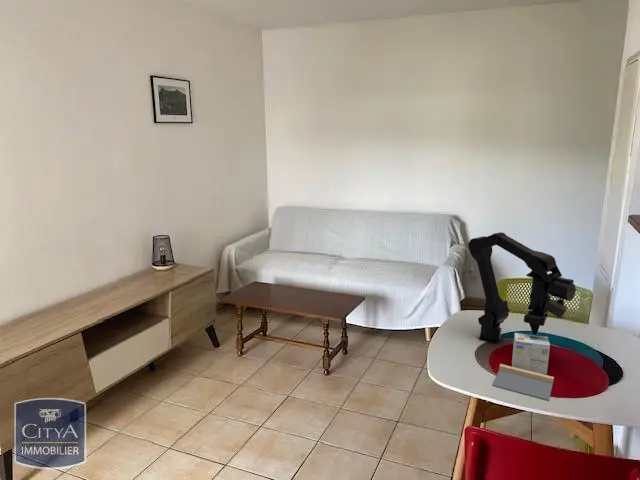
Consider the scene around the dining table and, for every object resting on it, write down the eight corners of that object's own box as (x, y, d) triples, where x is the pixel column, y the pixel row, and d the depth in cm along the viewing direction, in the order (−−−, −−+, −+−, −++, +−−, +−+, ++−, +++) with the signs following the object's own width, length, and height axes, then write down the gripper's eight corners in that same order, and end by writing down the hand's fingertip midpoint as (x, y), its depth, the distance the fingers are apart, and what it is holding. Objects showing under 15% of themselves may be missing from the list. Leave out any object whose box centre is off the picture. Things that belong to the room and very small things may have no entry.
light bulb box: (545, 365, 159) (548, 336, 156) (547, 375, 153) (551, 344, 150) (510, 360, 162) (514, 331, 160) (511, 370, 156) (515, 340, 153)
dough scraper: (492, 385, 146) (492, 380, 146) (499, 369, 156) (500, 363, 156) (548, 400, 138) (549, 395, 138) (553, 382, 148) (553, 376, 148)
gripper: (564, 305, 147) (558, 350, 151) (569, 288, 163) (563, 329, 167) (526, 298, 153) (520, 342, 157) (534, 282, 168) (529, 322, 172)
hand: (534, 334), depth 163 cm, fingers closed
